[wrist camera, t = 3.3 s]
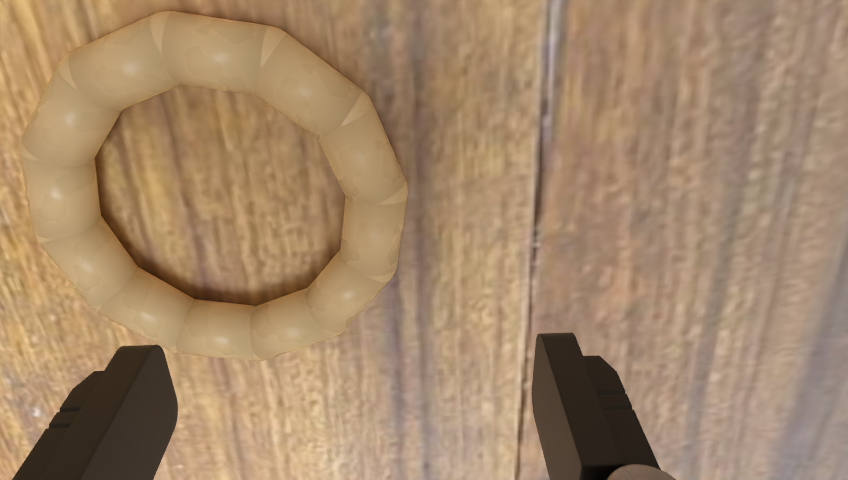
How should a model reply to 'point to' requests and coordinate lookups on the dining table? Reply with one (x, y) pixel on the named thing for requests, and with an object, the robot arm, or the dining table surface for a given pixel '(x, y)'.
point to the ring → (230, 71)
